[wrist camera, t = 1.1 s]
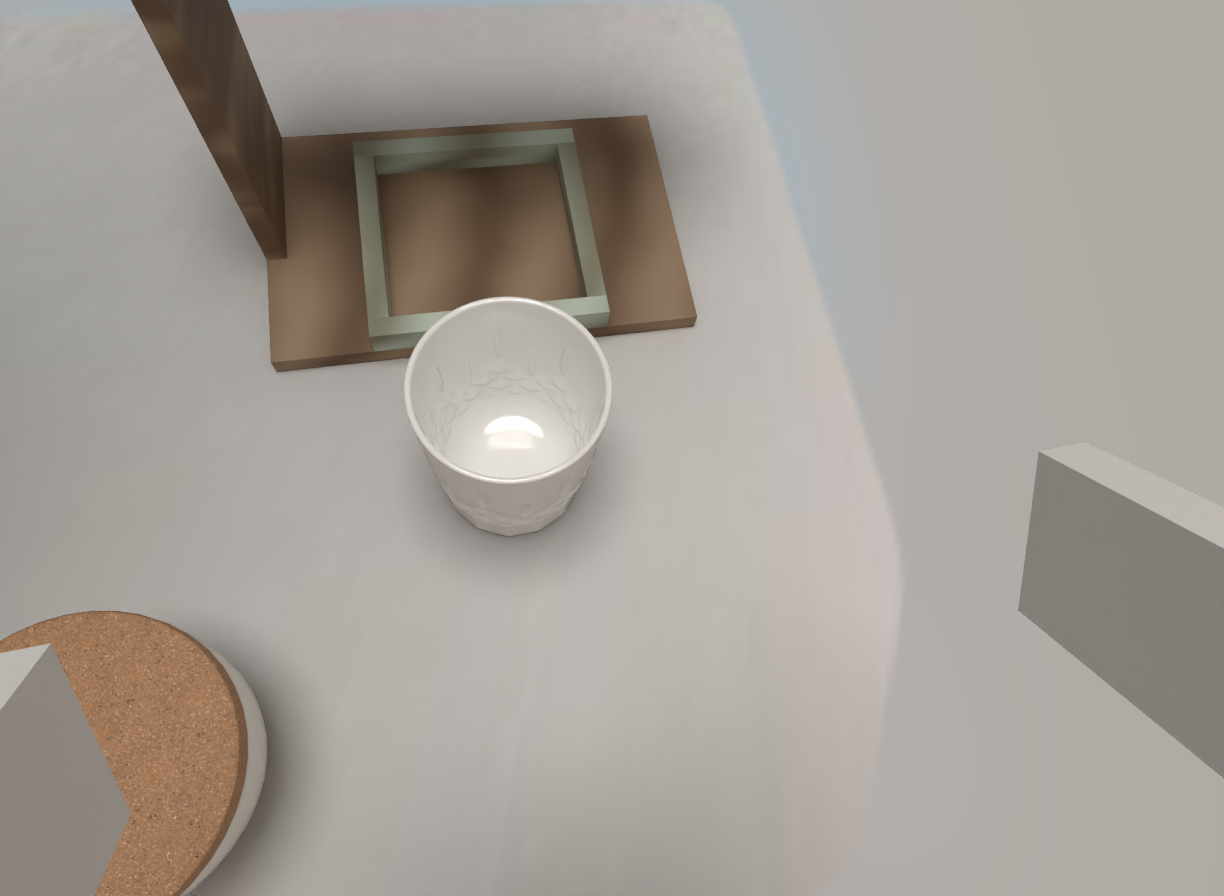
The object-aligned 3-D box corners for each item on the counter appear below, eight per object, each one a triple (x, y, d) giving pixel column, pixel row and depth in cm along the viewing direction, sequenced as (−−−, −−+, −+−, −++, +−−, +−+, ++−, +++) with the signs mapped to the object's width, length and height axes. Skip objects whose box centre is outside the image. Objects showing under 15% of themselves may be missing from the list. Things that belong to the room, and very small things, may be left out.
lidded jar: (-34, 852, 31) (-254, 894, 22) (127, 600, 35) (-6, 552, 26) (212, 960, 30) (87, 1047, 22) (346, 693, 34) (286, 676, 26)
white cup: (409, 524, 37) (372, 451, 28) (460, 382, 40) (442, 273, 31) (568, 566, 37) (583, 507, 28) (607, 422, 40) (632, 325, 31)
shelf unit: (276, 371, 39) (67, 51, 21) (268, 151, 44) (91, -265, 26) (693, 326, 43) (818, 20, 25) (644, 127, 48) (719, -253, 29)
